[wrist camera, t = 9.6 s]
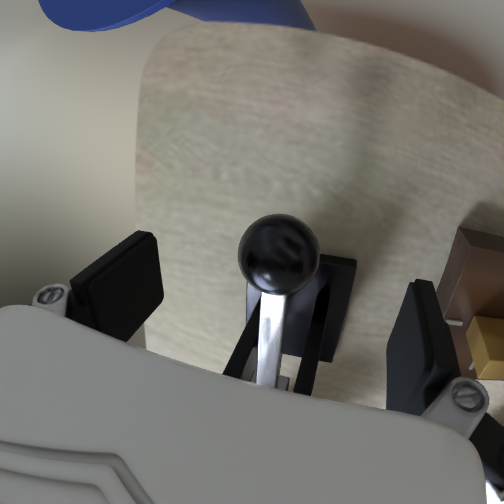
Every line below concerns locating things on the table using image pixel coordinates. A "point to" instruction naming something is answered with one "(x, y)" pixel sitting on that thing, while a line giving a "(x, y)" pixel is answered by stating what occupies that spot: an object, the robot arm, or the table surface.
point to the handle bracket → (301, 323)
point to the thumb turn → (487, 346)
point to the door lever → (276, 283)
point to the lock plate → (471, 288)
